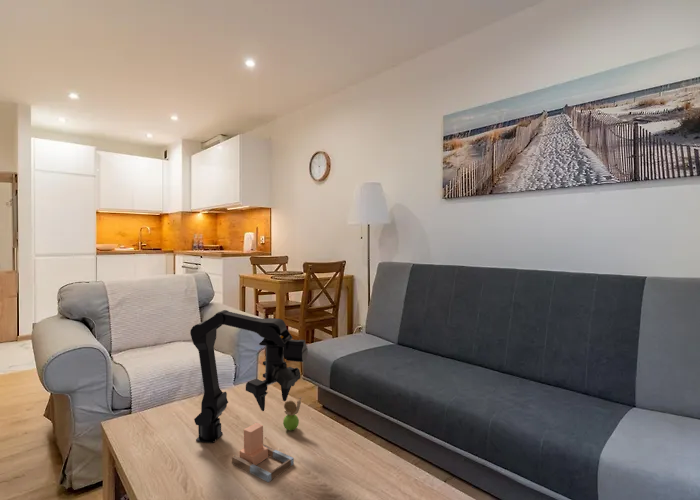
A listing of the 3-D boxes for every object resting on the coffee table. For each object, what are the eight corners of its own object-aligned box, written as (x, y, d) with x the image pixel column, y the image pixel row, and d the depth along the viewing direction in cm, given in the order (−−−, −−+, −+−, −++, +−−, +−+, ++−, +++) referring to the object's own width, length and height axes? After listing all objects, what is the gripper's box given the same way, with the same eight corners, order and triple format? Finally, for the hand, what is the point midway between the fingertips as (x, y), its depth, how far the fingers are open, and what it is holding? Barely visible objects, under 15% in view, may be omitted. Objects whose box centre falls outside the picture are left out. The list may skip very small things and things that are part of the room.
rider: (239, 460, 123) (239, 428, 123) (254, 451, 128) (254, 420, 127) (253, 467, 120) (252, 434, 119) (267, 457, 125) (267, 426, 124)
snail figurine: (298, 434, 139) (298, 400, 138) (280, 432, 140) (280, 398, 139) (303, 426, 144) (303, 394, 143) (286, 424, 145) (286, 392, 144)
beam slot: (231, 463, 122) (231, 456, 122) (257, 447, 130) (257, 441, 130) (268, 482, 113) (268, 475, 113) (293, 464, 122) (293, 457, 121)
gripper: (268, 373, 118) (267, 424, 119) (312, 357, 132) (311, 403, 133) (244, 364, 125) (244, 412, 126) (289, 349, 139) (288, 393, 140)
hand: (273, 405), depth 131 cm, fingers open, 9 cm apart
